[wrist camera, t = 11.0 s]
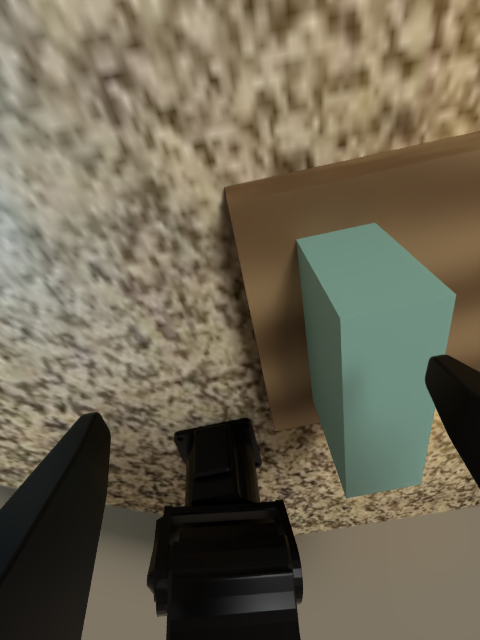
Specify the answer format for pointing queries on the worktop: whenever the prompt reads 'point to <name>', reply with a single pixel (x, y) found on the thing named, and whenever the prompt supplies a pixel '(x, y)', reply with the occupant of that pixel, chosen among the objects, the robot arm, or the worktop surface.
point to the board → (346, 212)
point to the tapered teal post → (372, 353)
